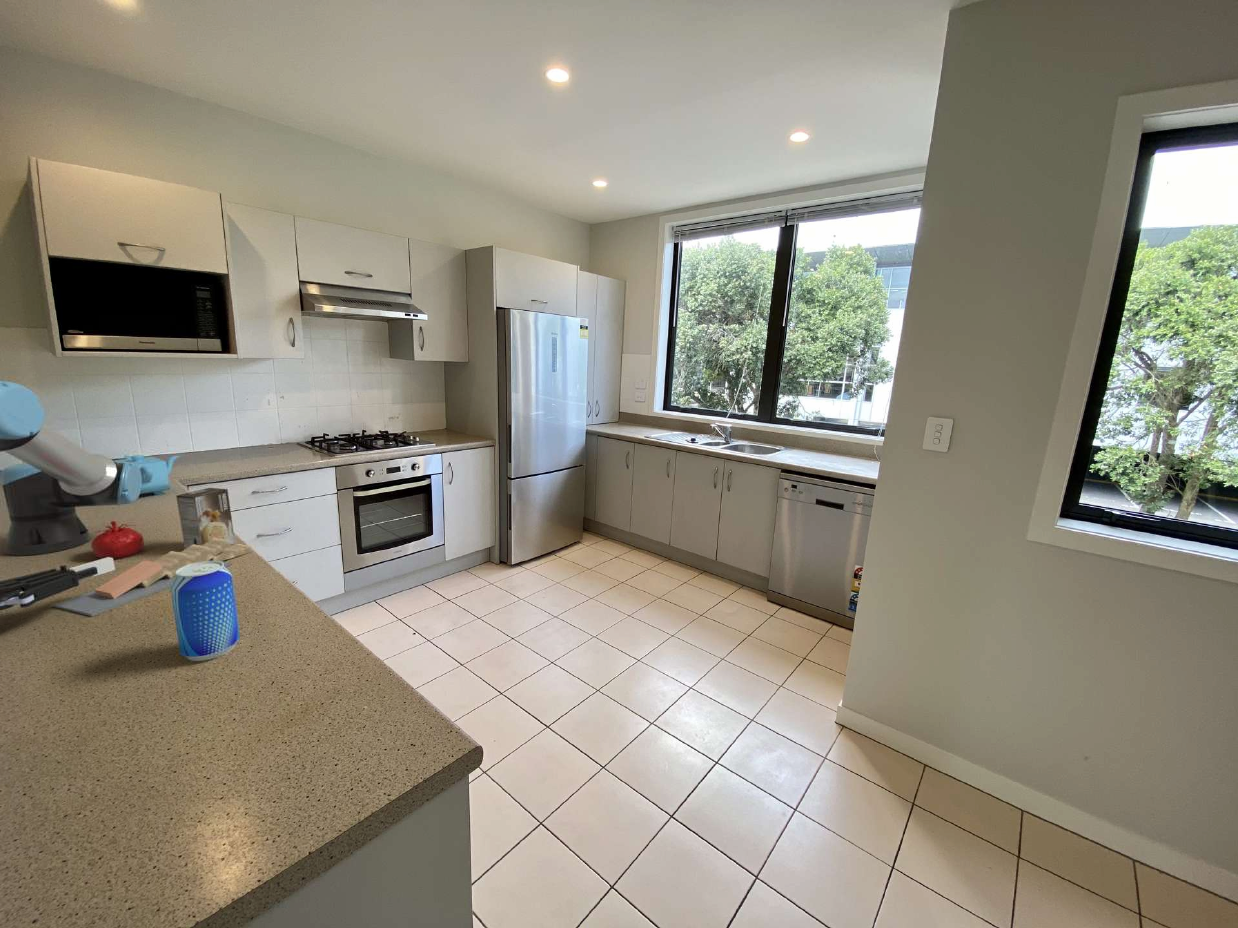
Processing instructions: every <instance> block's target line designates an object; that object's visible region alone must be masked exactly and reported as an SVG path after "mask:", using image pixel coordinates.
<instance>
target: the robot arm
mask: <svg viewBox="0 0 1238 928" xmlns="http://www.w3.org/2000/svg"><path fill="white" fill-rule="evenodd" d="M45 417H46V414H45V409H44V406H43V404H40V399H39V397H38V396H37V395H36V394H35V393H34V392H33V391H32V390H30V389H29V388H27V387H26V386H24V385H22V384H20V383H17V382H12V381H4V380H3V381H2V380H0V453H2V452H4V453H6V454H8V455H10V456H12V457H14V458H15V459H18V460H20V461H21V462H24V463H18V464H13V465H9V466H7V467H5V468H3V469H2V470H1V472H0V477H1V478H0V481H1V484H0V486H1V487H2V491H3V494H4V498H5V503H6V504H5V505H6V507H7V512H8V516H9V520H10V525H9V528H8V532H7V535H6V539H5V542H4V548H5V553H6V554H8V555H10V556H33V555H41V554H43V555H44V554H49V553H55V552H61V551H65V550H68V549H71V548H76V547H79V546H81V545H84V544H86V543H88V542H89V541H90V540H91V535H90V531H89V529H88V528H87V527H86V525H85V524H84V523H83V521H82V520H81V518H80V517H79V515H78V514H77V510H76V508H80V507H82V508H83V507H98V506H99V507H100V506H102V507H103V506H105V507H106V506H119V507H120V506H121V505H131V504H133V503H134V502H136V501H137V500H138V499H139V498H140V495H141V494H140V491H141V486H142V477H141V472H140V469H139V467H138V466H137V465H136V464H135V463H128V462H124V463H117V462H115V461H116V460H114V459H111V458H110V457H108V456H106V455H103V454H99V453H90V452H89V451H87V450H86V449H84V448H82V447H81V446H80V445H78V444H77V443H75V442H73V441H71V440H69V438H67V437H65V436H64V435H62V434H60V433H59V432H58V431H55V430H54V429H53V428H51V427H50V426H48V425H47V424H45V421H46V418H45ZM138 497H139V498H138ZM115 570H116V568H115V562H114V559H113V558H110V557H107V558H100V559H97V560H94V561H90V562H86V563H83V564H80V565H77V566H73V567H70V568H67V565H60V566H59V570H58V569H57V568H51V569H47V570H44V571H38V572H34V573H30V574H27V575H21V576H18V577H13V578H8V579H4V580H0V611H3V610H7V609H10V608H13V607H14V606H17V605H20V608H21V609H24V608H28V607H31V606H32V605H34V604H36V603H37V602H40V601H43V600H45V599H47V598H50V597H54V596H55V595H57V594H60V593H63V592H65V591H68V590H71V589H73V588H76V587H79V585H80V581H82V580H83V581H84V580H86V579H90V578H93V577H97V576H100V575H102V574H106V573H109V572H113V571H115Z"/></svg>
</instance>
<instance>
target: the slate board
mask: <svg viewBox="0 0 1238 928" xmlns="http://www.w3.org/2000/svg"><path fill="white" fill-rule="evenodd" d="M220 562H223V563H224V567H225V568H227V567H230V566H232V565H233V564H232V562H228V561H225V560H223V561H220ZM174 578H175V576H174V577H173V578H171V579H167V578H163V577H161V578H160V579H158V580H157V581H155V582H154V583H152V584H151V585H149V586H148V587H146V588H144V587H140V586H135V587H133V588H131V589H130V590H128V591H126V592H125V593H123V594H122V595H120V596H118V597H117V598H115V599H113V598H108V597H104V596H99V595H98V594H97V592H96V591H95V590H92V591H90V592H85V593H84V594H80V595H77V596H74V597H71V598H67V599H66V600H62V601H59V602H56V603H52V606H51V607H52V608H56V609H60V610H64V611H68V612H71V613H72V612H73V613H76V614H81V615H83V616H89V617H93V616H96V615H99V614H102V613H104V612H107V611H111V610H113V609H115V608H119V607H121V606H124V605H126V604H130V603H132V602H135V601H137V600H140V599H143V598H146V597H148V596H151V595H153V594H156V593H159V592H161V591H164V590H167V589H170V585H171V583H172V581H173V579H174Z"/></svg>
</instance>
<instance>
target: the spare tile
mask: <svg viewBox="0 0 1238 928" xmlns="http://www.w3.org/2000/svg"><path fill="white" fill-rule="evenodd" d="M162 569H163V568H162V566H161V565H160V563H155V561H154V562H153V561H149V560H142V561H141V562H139V563H138V564H136V565H134V566H133V567H131V568H129V569H127V570H125V571H124V572H122V573H121V574H119V575H117V576H115V577H114V578H112V579H110V580H108V581H106V583H104V584H102V585H100V586H98V587H97V588H95V589H94V591H96V592H97V594H98V595H99V596H104V597H108V598H113V599H115V598H117V597H118V596H120V595H122V594H123V593H125V592H126V591H128V590H130V589H131V588H133V587H135V586H136V585H138V584H139V583H141V582H143V581H144V580H146V579H148V578H149V577H151V576H152V575H154V574H156V573H157V572H159V571H160V570H162Z"/></svg>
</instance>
